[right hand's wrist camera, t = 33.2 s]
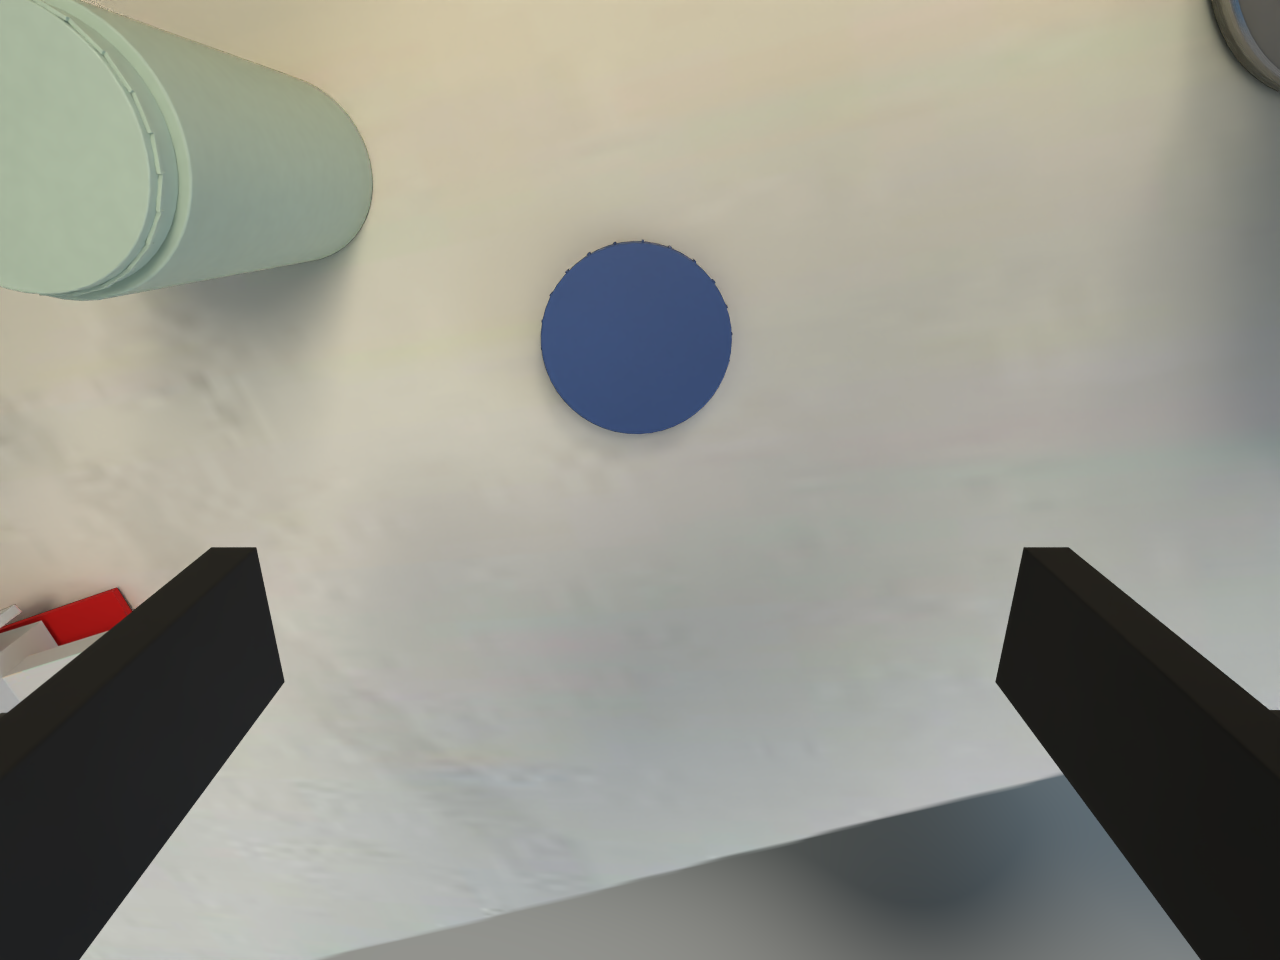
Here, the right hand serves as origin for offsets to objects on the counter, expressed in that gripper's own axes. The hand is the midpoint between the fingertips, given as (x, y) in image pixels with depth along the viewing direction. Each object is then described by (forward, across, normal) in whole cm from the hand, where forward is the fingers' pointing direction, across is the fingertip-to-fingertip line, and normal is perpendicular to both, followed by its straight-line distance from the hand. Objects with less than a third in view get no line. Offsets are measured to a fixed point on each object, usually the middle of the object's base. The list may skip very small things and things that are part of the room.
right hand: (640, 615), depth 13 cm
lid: (+27, 0, 0) cm, 27 cm away
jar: (+28, +18, -8) cm, 34 cm away
